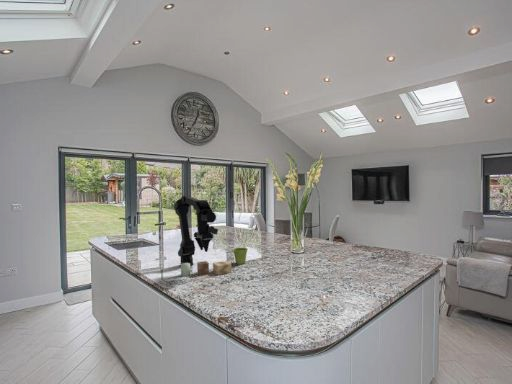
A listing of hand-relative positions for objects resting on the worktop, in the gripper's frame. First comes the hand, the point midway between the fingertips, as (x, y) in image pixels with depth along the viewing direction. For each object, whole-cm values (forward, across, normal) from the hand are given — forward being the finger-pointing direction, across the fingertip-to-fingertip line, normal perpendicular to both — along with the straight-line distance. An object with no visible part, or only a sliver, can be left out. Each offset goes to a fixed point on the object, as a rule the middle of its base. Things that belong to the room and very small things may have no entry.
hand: (204, 250), depth 164 cm
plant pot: (+12, +11, -26) cm, 31 cm away
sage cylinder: (+12, +3, +10) cm, 16 cm away
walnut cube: (+12, +1, +1) cm, 13 cm away
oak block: (+13, -1, -9) cm, 16 cm away
